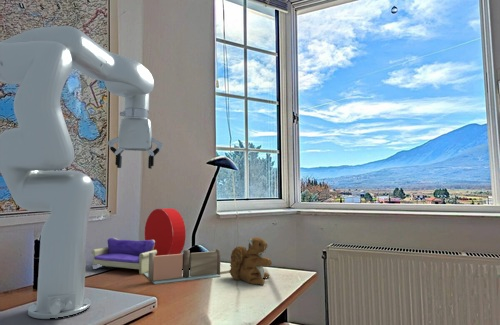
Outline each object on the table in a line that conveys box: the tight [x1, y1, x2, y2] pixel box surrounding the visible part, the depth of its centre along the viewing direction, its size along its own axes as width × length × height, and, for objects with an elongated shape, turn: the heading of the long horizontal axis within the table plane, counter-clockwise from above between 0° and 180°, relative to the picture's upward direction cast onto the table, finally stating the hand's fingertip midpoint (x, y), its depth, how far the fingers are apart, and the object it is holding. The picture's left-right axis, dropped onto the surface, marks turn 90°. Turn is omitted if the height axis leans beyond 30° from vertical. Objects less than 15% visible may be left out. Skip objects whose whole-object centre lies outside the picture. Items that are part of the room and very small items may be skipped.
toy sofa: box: [91, 237, 157, 275], centre depth 121 cm, size 21×9×10 cm, turn 72°
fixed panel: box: [182, 248, 222, 278], centre depth 113 cm, size 2×13×8 cm, turn 120°
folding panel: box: [147, 253, 183, 282], centre depth 107 cm, size 2×10×8 cm, turn 120°
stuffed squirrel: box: [228, 237, 273, 286], centre depth 110 cm, size 10×14×13 cm
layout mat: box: [143, 270, 221, 285], centre depth 114 cm, size 14×21×1 cm, turn 120°
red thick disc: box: [144, 207, 187, 256], centre depth 140 cm, size 20×6×20 cm, turn 47°
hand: (134, 168), depth 114 cm, fingers open, 9 cm apart
